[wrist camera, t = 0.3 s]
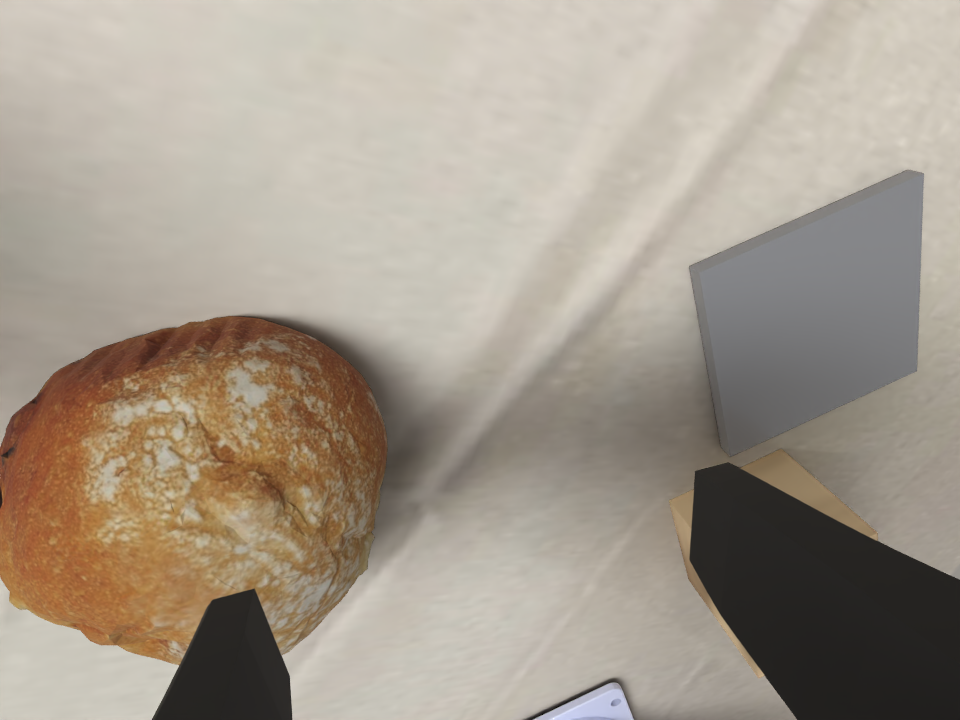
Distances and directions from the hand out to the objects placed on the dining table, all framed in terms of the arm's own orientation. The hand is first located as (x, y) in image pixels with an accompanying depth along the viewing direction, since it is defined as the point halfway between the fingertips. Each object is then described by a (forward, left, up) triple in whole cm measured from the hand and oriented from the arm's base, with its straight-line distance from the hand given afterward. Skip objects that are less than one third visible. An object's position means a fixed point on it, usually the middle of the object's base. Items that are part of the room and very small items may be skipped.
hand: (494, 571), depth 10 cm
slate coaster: (-6, -13, -10) cm, 18 cm away
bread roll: (-2, +7, -10) cm, 13 cm away
